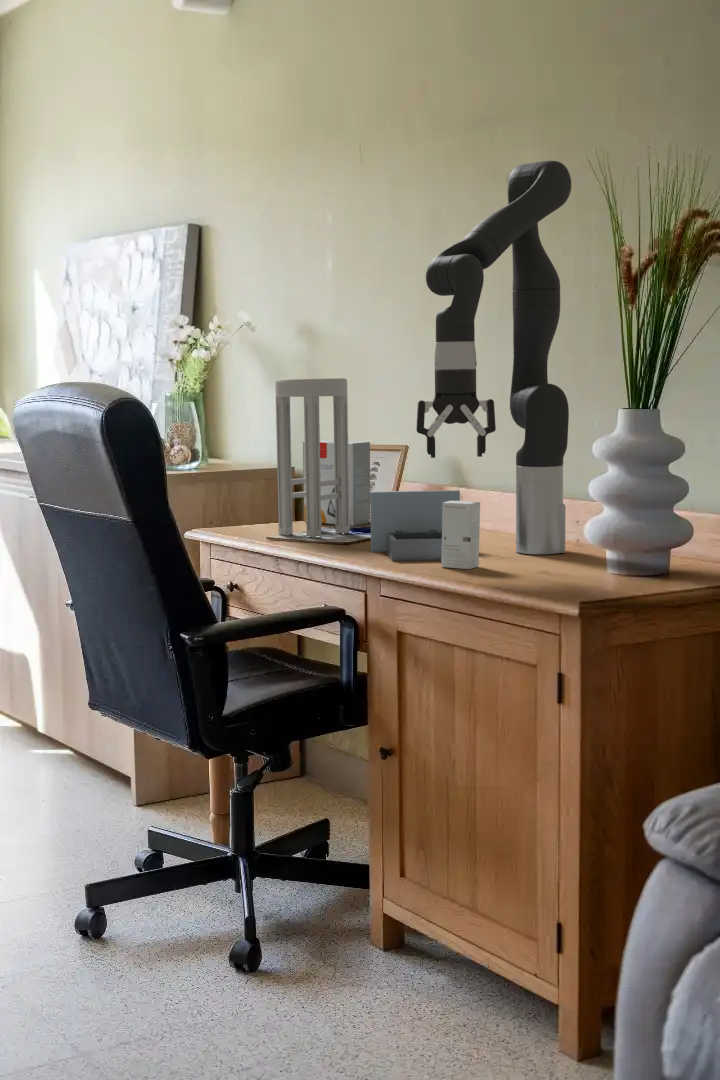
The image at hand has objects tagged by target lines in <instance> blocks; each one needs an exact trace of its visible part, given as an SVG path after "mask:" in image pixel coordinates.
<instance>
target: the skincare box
mask: <svg viewBox="0 0 720 1080" xmlns="http://www.w3.org/2000/svg"><path fill="white" fill-rule="evenodd" d="M480 526H481V501H467V500H466V501H465V500H460V501H447V502H444V503H443V504H442V554H441V560H440V561H441V563H440V565H441V568H446V569H447V568H450V569H460V570H461V569H462V570H463V569H464V570H473V569H475V567H476V568H479V566H480V563H479V562H480V528H481V527H480ZM472 568H473V569H472Z"/></svg>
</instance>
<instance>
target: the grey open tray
mask: <svg viewBox="0 0 720 1080" xmlns="http://www.w3.org/2000/svg"><path fill="white" fill-rule="evenodd" d="M386 553H387V555H388V557H389V558H390V559H389V560H390V561H391V562H404V561H405V562H409V561H411V562H412V561H416V562H417V561H441V554H442V532H437V530H430V532H411V533H402V530H399V531H396V533H387V551H386Z"/></svg>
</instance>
